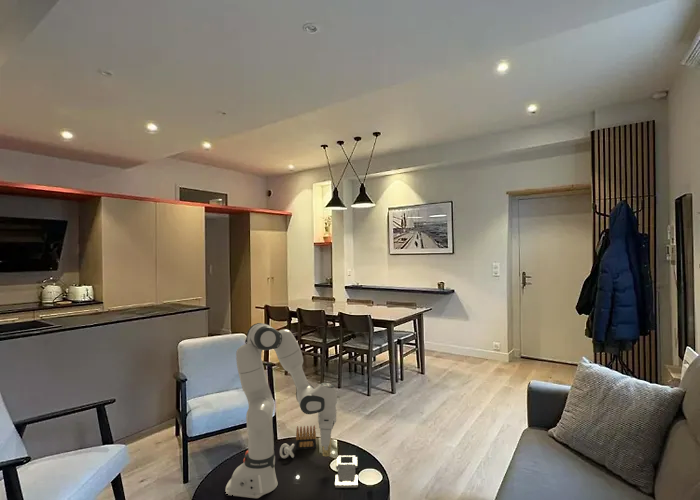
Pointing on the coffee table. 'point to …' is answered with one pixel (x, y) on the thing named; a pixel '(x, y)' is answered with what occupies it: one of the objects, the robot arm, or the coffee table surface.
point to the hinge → (346, 472)
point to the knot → (287, 450)
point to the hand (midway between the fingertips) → (326, 446)
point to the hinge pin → (327, 452)
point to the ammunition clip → (306, 438)
